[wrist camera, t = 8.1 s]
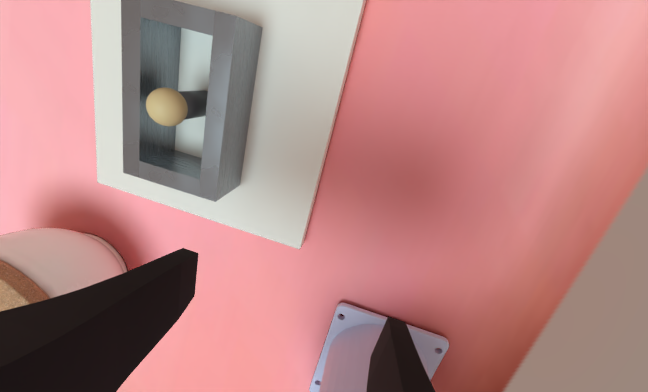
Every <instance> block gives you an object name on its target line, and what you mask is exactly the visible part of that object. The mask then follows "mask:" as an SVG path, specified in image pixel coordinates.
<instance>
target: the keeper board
mask: <svg viewBox="0 0 648 392" xmlns="http://www.w3.org/2000/svg"><path fill="white" fill-rule="evenodd" d="M175 1H179V2H183V3H187V4H191V5H195V6H199V7H203V8H207V9H211V10H215V11H219V12H223V13H227V14H231V15H235V16H238V17H240V18H242V19H245V20H247V21H249V22H251V23H254V24H256V25H258V26H261V27H263V30H262V36H261V43H260V50H259V57H258V64H257V71H256V78H255V85H254V92H253V99H252V106H251V113H250V120H249V127H248V134H247V141H246V148H245V155H244V162H243V169H242V176H241V183H240V185H239V186H238V187H237V188H235V189H234V190H232V191H231V192H229V193H228V194H226V195H225V196H223V197H222V198H220V199H219V200H217V201H216V202H214V201H211V200H208V199H204V198H201V197H198V196H195V195H192V194H189V193H185V192H182V191H179V190H176V189H173V188H170V187H167V186H163V185H160V184H157V183H154V182H151V181H148V180H144V179H141V178H138V177H135V176H132V175H129V174H126V173H123V122H122V45H121V0H90V3H91V29H92V54H93V80H94V105H95V131H96V156H97V181H98V183H101V184H104V185H107V186H110V187H113V188H116V189H119V190H122V191H125V192H128V193H131V194H134V195H137V196H140V197H143V198H146V199H149V200H152V201H155V202H158V203H161V204H164V205H167V206H170V207H173V208H176V209H179V210H182V211H185V212H188V213H191V214H194V215H197V216H200V217H203V218H206V219H209V220H212V221H215V222H218V223H221V224H225V225H228V226H231V227H234V228H237V229H240V230H243V231H246V232H249V233H252V234H255V235H258V236H261V237H264V238H267V239H270V240H273V241H276V242H279V243H282V244H285V245H288V246H291V247H294V248H297V249H300V248H301V246H302V245H303V243H304V239H305V236H306V232H307V228H308V224H309V220H310V216H311V212H312V208H313V205H314V201H315V197H316V193H317V189H318V185H319V181H320V177H321V174H322V170H323V166H324V162H325V158H326V154H327V150H328V147H329V143H330V139H331V135H332V131H333V127H334V123H335V119H336V116H337V112H338V108H339V104H340V100H341V96H342V92H343V89H344V85H345V81H346V77H347V73H348V69H349V65H350V61H351V58H352V54H353V50H354V46H355V42H356V38H357V34H358V31H359V27H360V23H361V19H362V15H363V11H364V7H365V3H366V0H175ZM212 39H213V36H211V35H207V34H203V33H199V32H195V31H192V30H188V29H184V28H181V43H180V62H179V81H178V91H176V90H174V89H171V88H158V89H155V90H154V91H152V92H151V93H150V94H149V96H148V97H147V100H146V109H147V112H148V114H149V116H150V117H151V118H152V119H153V120H154V121H155V122H157V123H158V124H161V125H163V126H175V125H176V137H175V150H177V151H180V152H183V153H187V154H190V155H193V156H197V157H200V158H202V151H203V140H204V128H205V117H206V106H207V95H208V84H209V72H210V61H211V50H212Z"/></svg>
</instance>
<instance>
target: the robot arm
mask: <svg viewBox="0 0 648 392" xmlns="http://www.w3.org/2000/svg"><path fill="white" fill-rule="evenodd" d="M197 261H198V253H196V252H193V251H190V250H187V249H184V248H182V249H180V250H177V251H175V252H172V253H170V254H168V255H165V256H163V257H161V258H158V259H156V260H154V261H151V262H149V263H147V264H144V265H142V266H140V267H137V268H135V269H132V270H130V271H128V272H125V273H123V274H120V275H117V276H115V277H112V278H109V279H107V280H104V281H101V282H99V283H96V284H93V285H91V286H88V287H85V288H82V289H79V290H76V291H73V292H70V293H67V294H63V295H60V296H57V297H54V298H50V299H47V300H43V301H40V302H36V303H32V304H28V305H24V306H20V307H16V308H12V309H8V310H4V311H0V392H116V391H117V390H118V388H119V387H120V386H121V385H122V384H123V382H124V381H125V380H126V379H127V377H128V376H129V375H130V374H131V373H132V372H133V370H134V369H135V368H136V367H137V366H138V365H139V364H140V362H141V361H142V360H143V359H144V358H145V357H146V356H147V355H148V353H149V352H150V351H151V350H152V349H153V348H154V347H155V345H156V344H157V343H158V342H159V341H160V340H161V339H162V337H163V336H164V335H165V334H166V333H167V332H168V331H169V329H170V328H171V327H172V326H173V325H174V324H175V322H176V321H177V320H178V319H179V317H180V316H181V315H182V313H183V312H184V310H185V309H186V307H187V306H188V304H189V303H190V301H191V300H192V298H193V297H194V294H195V283H196V272H197ZM339 314H343V315H344V316H340V315H339ZM436 348H440V349H436ZM448 348H449V343H448V340H447V339H446V338H445V337H443V336H440V335H437V334H434V333H431V332H428V331H425V330H423V329H420V328H417V327H414V326H411V325H408V324H406V323H405V322H403V321H400V320H397V319H394V318H391V317H385V316H382V315H379V314H376V313H373V312H370V311H367V310H364V309H362V308H359V307H356V306H353V305H350V304H347V303H339V304H338V305H337V308H336V311H335V314H334V316H333V319H332V322H331V325H330V328H329V331H328V334H327V337H326V340H325V343H324V346H323V349H322V352H321V355H320V358H319V361H318V364H317V367H316V370H315V373H314V376H313V378H312V381H311V384H310V388H309V390H310V392H435V390H434V388H433V386H432V384H431V382H430V380H431V379H432V377H433V375H434V373H435V371H436V370H437V368H438V366H439V364H440V362H441V361H442V359H443V357H444V355H445V353H446V352H447V350H448ZM318 380H319V381H318Z"/></svg>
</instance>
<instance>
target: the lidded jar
mask: <svg viewBox="0 0 648 392" xmlns="http://www.w3.org/2000/svg"><path fill="white" fill-rule="evenodd" d="M125 272H128V271H127V267H126V265H125V263H124V260H123V259H122V257H121V256H120V254H119V253H118V252H117V250H116V249H115V248H114V247H113V246H112V245H110V244H109V243H108V242H107V241H105V240H103V239H102V238H100V237H98V236H95V235H92V234H88V233H80V232H77V231H73V230H68V229H63V228H32V229H27V230H21V231H16V232H11V233H7V234H3V235H0V311H4V310H8V309H12V308H16V307H20V306H24V305H28V304H32V303H36V302H40V301H43V300H47V299H50V298H54V297H57V296H60V295H63V294H67V293H70V292H73V291H76V290H79V289H82V288H85V287H88V286H91V285H93V284H96V283H99V282H101V281H104V280H107V279H109V278H112V277H115V276H117V275H120V274H123V273H125Z"/></svg>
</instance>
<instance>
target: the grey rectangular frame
mask: <svg viewBox="0 0 648 392" xmlns="http://www.w3.org/2000/svg"><path fill="white" fill-rule="evenodd" d="M181 28H184V29H188V30H192V31H195V32H199V33H203V34H207V35H211V36H213V39H212V50H211V61H210V72H209V84H208V95H207V106H206V117H205V128H204V140H203V151H202V158H200V157H197V156H193V155H190V154H187V153H183V152H180V151H177V150H175V137H176V125H175V126H163V125H161V124H158V123H157V122H155V121H154V120H153V119H152V118H151V117H150V116H149V114H148V112H147V109H146V100H147V97H148V96H149V94H150V93H151V92H152V91H154V90H155V89H158V88H171V89H174V90H176V91H178V81H179V62H180V43H181ZM262 30H263V27H261V26H258V25H256V24H254V23H251V22H249V21H247V20H245V19H242V18H240V17H238V16H235V15H231V14H227V13H223V12H219V11H215V10H211V9H207V8H203V7H199V6H195V5H191V4H187V3H183V2H179V1H175V0H121V45H122V122H123V173H126V174H129V175H132V176H135V177H138V178H141V179H144V180H148V181H151V182H154V183H157V184H160V185H163V186H167V187H170V188H173V189H176V190H179V191H182V192H185V193H189V194H192V195H195V196H198V197H201V198H204V199H208V200H211V201H214V202H216V201H217V200H219V199H220V198H222V197H223V196H225V195H226V194H228V193H229V192H231V191H232V190H234V189H235V188H237V187H238V186H239V185H240V183H241V176H242V169H243V162H244V155H245V148H246V141H247V134H248V127H249V120H250V113H251V106H252V99H253V92H254V85H255V78H256V71H257V64H258V57H259V50H260V43H261V36H262Z"/></svg>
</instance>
